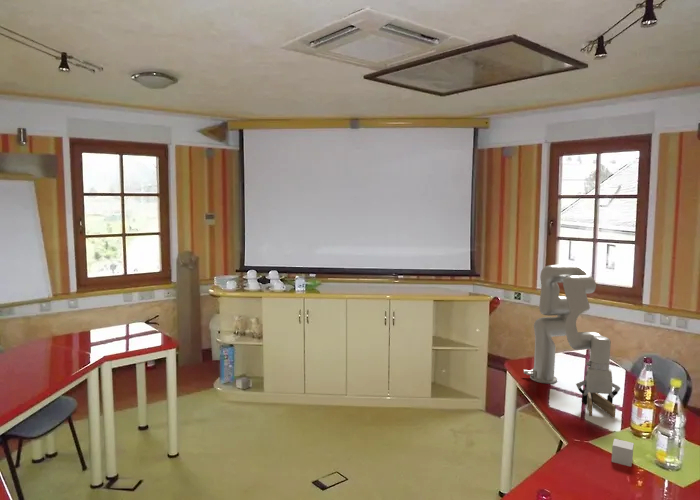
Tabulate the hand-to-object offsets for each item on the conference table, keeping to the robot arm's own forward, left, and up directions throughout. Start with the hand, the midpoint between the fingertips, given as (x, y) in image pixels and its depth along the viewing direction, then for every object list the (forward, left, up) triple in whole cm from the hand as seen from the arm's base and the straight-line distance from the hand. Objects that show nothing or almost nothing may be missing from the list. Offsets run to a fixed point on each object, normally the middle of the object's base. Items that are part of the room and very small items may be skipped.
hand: (596, 404), depth 217 cm
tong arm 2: (+3, +1, -2) cm, 4 cm away
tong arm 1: (-3, +1, -2) cm, 4 cm away
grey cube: (-5, -44, -3) cm, 44 cm away
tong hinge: (0, +11, -3) cm, 11 cm away
